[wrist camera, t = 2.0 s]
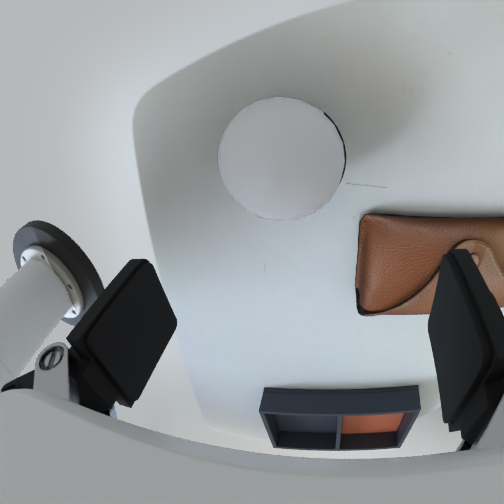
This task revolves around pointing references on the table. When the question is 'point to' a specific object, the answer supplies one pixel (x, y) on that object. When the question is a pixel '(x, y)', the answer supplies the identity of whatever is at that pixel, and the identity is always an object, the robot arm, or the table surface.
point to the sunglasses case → (420, 259)
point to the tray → (339, 418)
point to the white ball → (282, 158)
